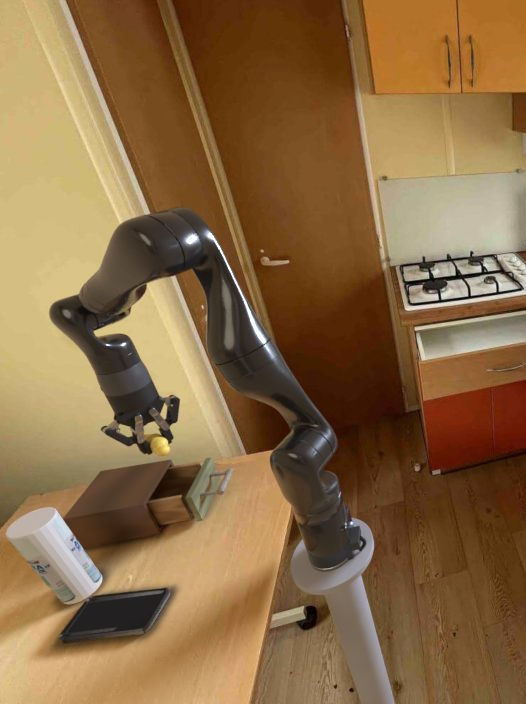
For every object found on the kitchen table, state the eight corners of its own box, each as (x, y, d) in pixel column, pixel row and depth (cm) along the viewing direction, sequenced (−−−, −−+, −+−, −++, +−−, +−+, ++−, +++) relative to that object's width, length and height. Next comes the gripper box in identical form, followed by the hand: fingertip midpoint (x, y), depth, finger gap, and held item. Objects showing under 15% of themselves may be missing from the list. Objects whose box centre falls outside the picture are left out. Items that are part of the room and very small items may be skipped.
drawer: (242, 475, 109) (233, 453, 106) (226, 515, 99) (215, 492, 95) (160, 490, 105) (148, 467, 102) (134, 533, 95) (120, 509, 91)
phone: (88, 596, 82) (171, 587, 84) (91, 599, 83) (173, 590, 84) (54, 641, 75) (144, 630, 77) (57, 644, 76) (147, 634, 77)
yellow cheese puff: (178, 448, 92) (170, 440, 91) (163, 460, 90) (154, 452, 88) (157, 433, 97) (149, 425, 95) (142, 444, 94) (134, 436, 93)
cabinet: (184, 487, 107) (171, 459, 103) (159, 533, 96) (143, 504, 91) (117, 499, 104) (100, 470, 100) (83, 548, 92) (61, 519, 88)
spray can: (54, 595, 83) (-2, 529, 74) (94, 567, 89) (47, 501, 80) (69, 611, 81) (13, 544, 72) (110, 581, 86) (63, 515, 77)
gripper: (90, 408, 78) (128, 475, 86) (175, 372, 89) (202, 434, 97) (74, 396, 82) (112, 461, 89) (158, 362, 92) (185, 423, 100)
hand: (158, 447), depth 93 cm, fingers closed on yellow cheese puff, 3 cm apart
